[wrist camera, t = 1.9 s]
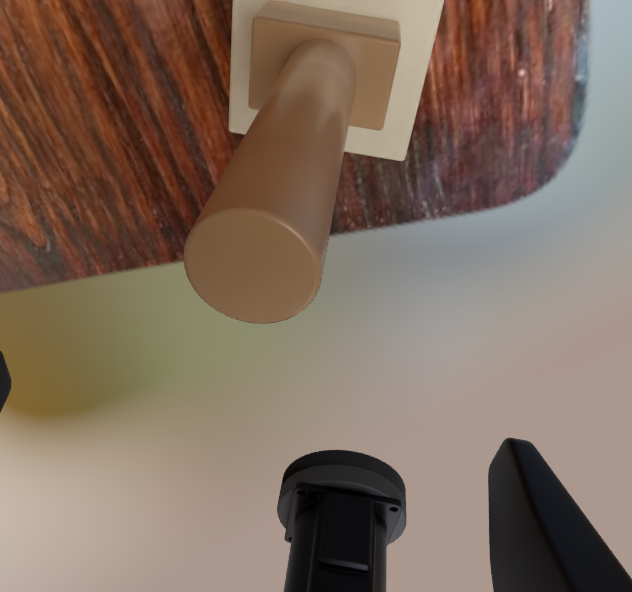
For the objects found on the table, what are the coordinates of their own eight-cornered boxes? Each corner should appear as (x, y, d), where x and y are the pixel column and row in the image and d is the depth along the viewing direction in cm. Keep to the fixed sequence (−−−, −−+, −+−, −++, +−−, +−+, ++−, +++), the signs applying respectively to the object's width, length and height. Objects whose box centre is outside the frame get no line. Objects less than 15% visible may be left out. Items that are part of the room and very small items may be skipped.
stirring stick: (383, 103, 14) (373, 358, 7) (263, 83, 14) (120, 315, 7) (400, 21, 13) (411, 220, 6) (269, -2, 13) (102, 166, 6)
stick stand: (402, 103, 19) (404, 163, 15) (261, 79, 19) (227, 132, 15) (440, -66, 16) (456, -46, 12) (273, -95, 16) (234, -83, 12)
